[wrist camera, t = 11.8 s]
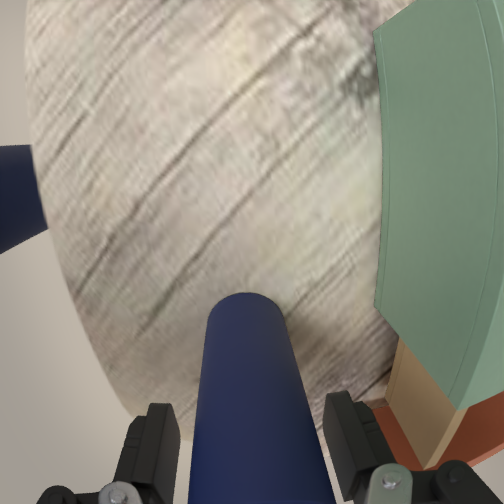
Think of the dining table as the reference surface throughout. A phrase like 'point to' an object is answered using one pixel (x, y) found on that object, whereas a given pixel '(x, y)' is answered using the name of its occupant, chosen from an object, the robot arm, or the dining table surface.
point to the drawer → (435, 420)
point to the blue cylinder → (253, 413)
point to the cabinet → (444, 190)
